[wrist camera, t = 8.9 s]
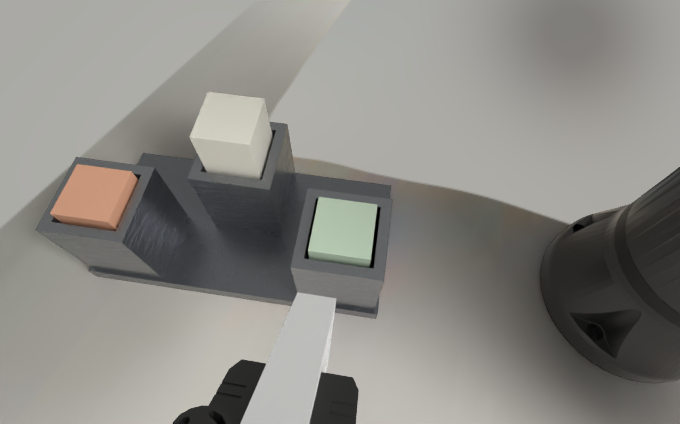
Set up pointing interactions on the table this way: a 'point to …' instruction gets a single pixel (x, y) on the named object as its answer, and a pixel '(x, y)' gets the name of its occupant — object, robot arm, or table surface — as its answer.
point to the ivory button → (233, 135)
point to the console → (229, 232)
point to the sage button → (343, 232)
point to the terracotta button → (95, 197)
